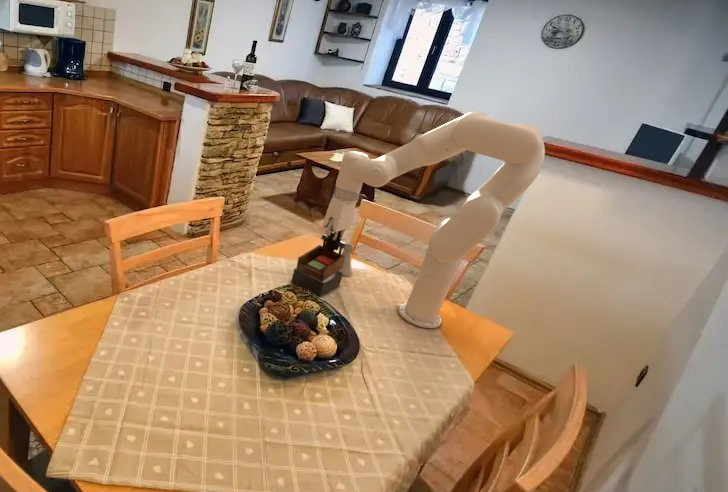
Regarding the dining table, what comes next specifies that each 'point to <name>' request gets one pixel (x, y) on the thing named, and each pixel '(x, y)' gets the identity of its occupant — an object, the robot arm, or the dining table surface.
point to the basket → (320, 251)
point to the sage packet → (316, 266)
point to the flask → (347, 260)
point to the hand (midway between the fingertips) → (331, 249)
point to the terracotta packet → (324, 260)
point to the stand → (317, 282)
